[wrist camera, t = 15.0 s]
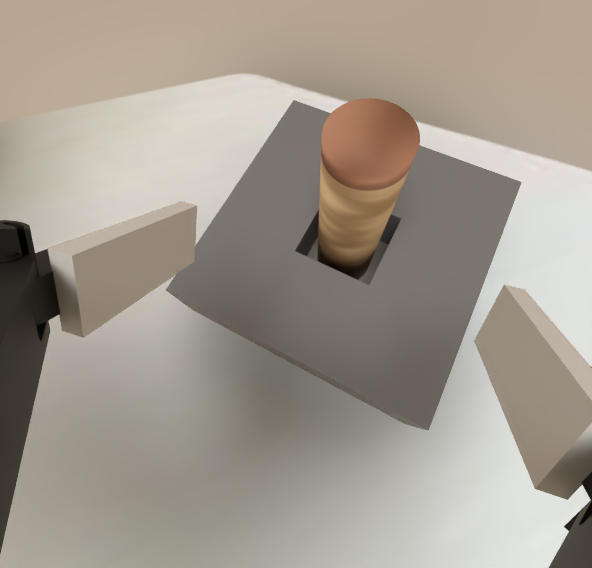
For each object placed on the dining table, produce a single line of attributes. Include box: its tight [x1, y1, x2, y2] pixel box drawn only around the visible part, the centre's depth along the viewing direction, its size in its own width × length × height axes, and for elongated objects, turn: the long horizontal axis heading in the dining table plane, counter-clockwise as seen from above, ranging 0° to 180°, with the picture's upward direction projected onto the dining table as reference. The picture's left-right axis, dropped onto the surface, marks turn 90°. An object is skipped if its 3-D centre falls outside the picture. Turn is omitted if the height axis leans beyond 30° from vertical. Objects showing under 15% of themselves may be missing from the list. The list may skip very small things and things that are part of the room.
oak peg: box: [318, 99, 420, 280], centre depth 25 cm, size 5×5×16 cm
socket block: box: [166, 100, 521, 430], centre depth 30 cm, size 22×22×6 cm
